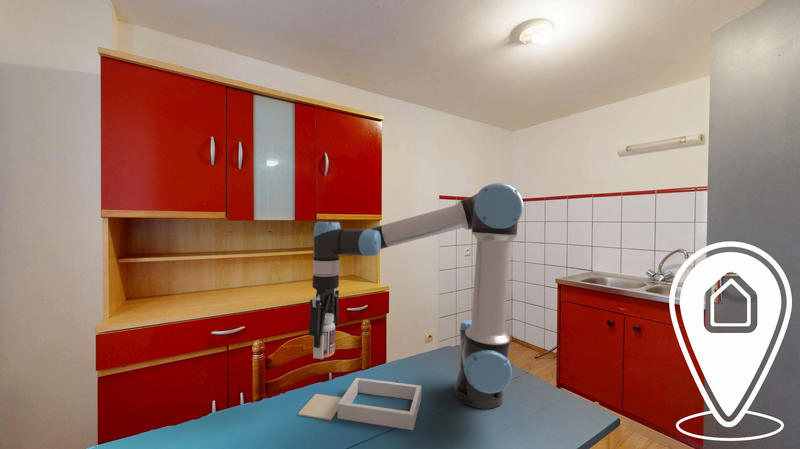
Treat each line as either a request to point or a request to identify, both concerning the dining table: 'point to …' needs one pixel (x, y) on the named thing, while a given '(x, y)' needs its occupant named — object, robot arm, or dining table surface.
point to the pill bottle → (328, 335)
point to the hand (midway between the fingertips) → (324, 352)
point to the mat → (321, 407)
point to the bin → (380, 414)
